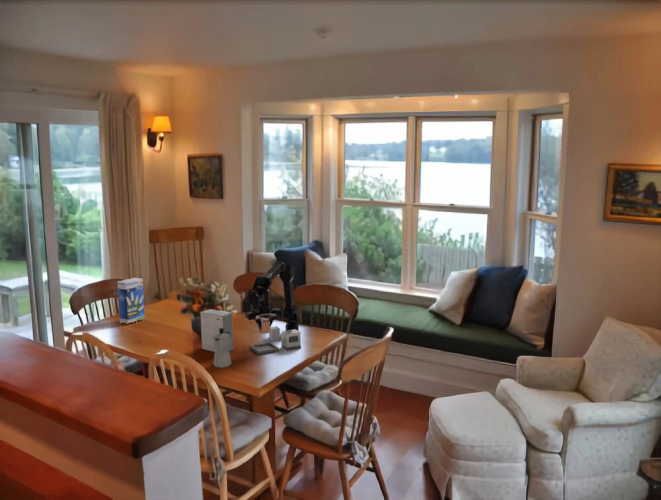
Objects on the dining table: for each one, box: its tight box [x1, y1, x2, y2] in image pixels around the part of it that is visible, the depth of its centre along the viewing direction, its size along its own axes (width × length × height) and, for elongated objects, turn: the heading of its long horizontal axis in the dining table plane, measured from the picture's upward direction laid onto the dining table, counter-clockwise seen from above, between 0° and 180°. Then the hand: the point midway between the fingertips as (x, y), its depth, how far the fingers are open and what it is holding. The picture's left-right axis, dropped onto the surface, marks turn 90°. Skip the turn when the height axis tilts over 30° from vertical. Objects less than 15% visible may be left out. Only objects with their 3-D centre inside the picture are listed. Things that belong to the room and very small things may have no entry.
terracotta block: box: [258, 318, 270, 335], centre depth 290 cm, size 4×4×6 cm
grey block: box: [268, 325, 281, 341], centre depth 309 cm, size 4×4×6 cm
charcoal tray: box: [250, 341, 280, 356], centre depth 291 cm, size 11×11×2 cm
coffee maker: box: [213, 328, 232, 369], centre depth 271 cm, size 15×9×18 cm, turn 164°
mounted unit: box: [281, 329, 302, 352], centre depth 294 cm, size 8×7×8 cm
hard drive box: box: [199, 308, 234, 353], centre depth 290 cm, size 16×8×20 cm, turn 59°
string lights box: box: [116, 277, 146, 323], centre depth 338 cm, size 13×8×26 cm, turn 149°
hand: (264, 329), depth 290 cm, fingers closed on terracotta block, 4 cm apart
